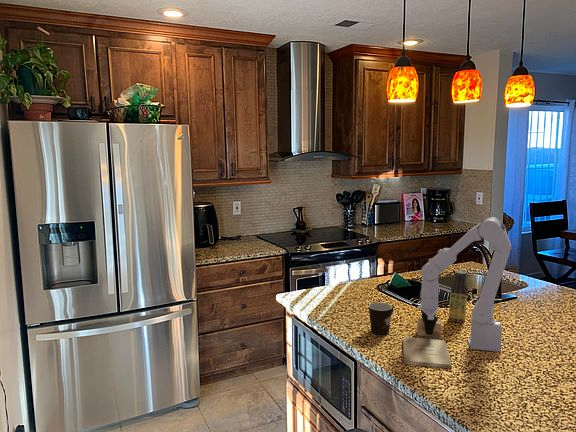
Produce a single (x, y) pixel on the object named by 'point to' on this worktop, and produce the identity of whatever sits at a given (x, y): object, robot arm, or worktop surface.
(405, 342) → the board
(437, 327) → the block
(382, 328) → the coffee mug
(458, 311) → the sauce bottle
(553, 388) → the worktop surface
